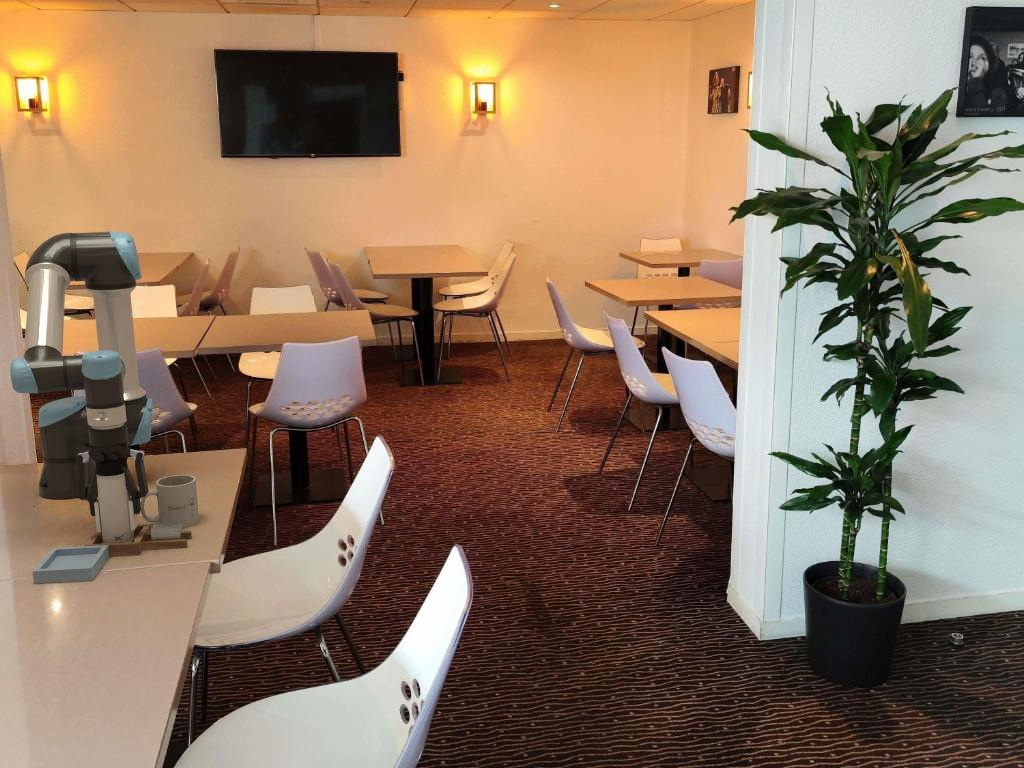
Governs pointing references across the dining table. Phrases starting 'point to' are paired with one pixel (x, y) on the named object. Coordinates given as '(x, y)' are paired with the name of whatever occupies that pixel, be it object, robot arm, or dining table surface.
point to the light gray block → (167, 531)
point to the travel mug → (114, 502)
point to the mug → (175, 500)
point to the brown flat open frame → (139, 542)
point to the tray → (71, 564)
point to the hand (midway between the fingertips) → (117, 528)
